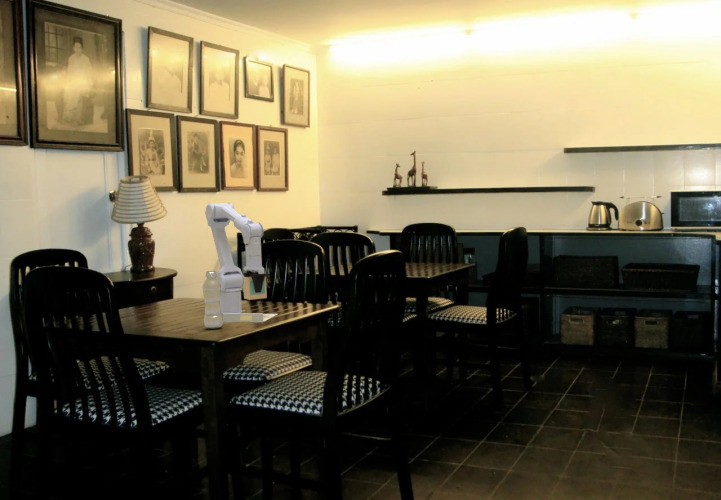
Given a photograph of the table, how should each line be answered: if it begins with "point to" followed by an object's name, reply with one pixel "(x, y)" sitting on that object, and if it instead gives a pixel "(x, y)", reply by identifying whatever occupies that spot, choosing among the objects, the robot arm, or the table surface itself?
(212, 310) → the plastic bottle
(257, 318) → the large cream panel
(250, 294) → the kraft carton
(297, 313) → the table surface
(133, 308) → the table surface
